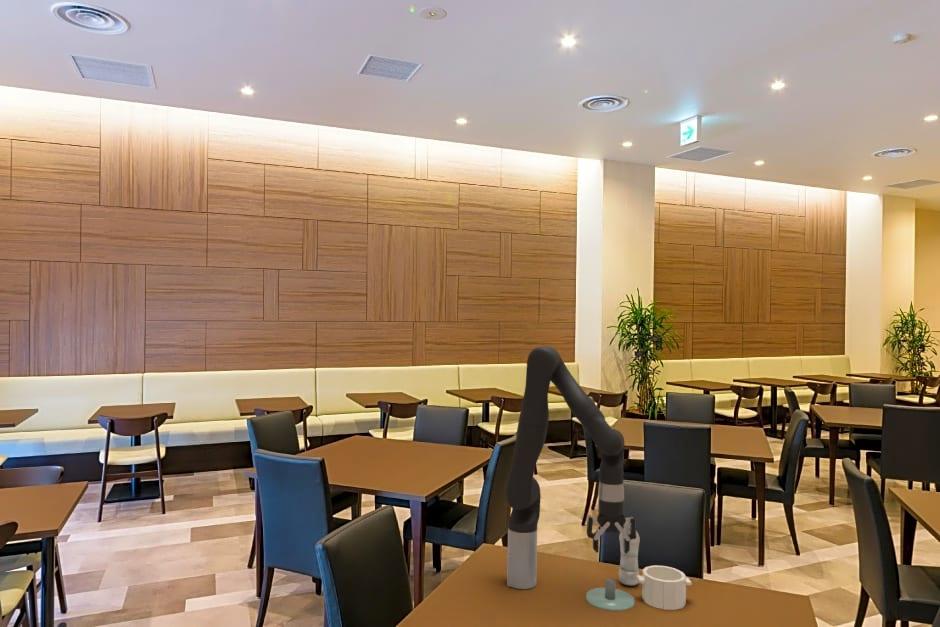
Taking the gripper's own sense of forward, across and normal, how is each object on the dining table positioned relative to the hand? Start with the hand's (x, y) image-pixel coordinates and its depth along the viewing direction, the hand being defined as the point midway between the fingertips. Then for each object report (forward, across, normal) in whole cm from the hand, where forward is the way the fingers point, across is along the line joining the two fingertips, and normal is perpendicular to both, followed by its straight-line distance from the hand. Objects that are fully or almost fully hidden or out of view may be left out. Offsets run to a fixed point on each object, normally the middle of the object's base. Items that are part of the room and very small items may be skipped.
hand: (611, 552), depth 182 cm
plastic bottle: (+14, +8, +12) cm, 20 cm away
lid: (+14, 0, 0) cm, 15 cm away
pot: (+14, +16, +1) cm, 21 cm away
